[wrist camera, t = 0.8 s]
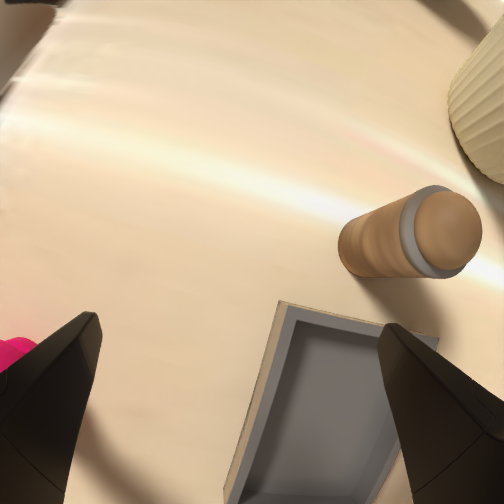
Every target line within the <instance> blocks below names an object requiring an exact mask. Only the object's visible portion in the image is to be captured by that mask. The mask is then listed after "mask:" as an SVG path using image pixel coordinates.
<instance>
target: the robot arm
mask: <svg viewBox="0 0 504 504" xmlns="http://www.w3.org/2000/svg"><path fill="white" fill-rule="evenodd" d="M101 343H102V330H101V326H100V322H99V318H98V315H97V314H96V313H95V312H87V311H85V312H82V313H81V314H80V315H78V316H77V317H75V318H74V319H73V320H71V321H70V322H68V323H67V324H66V325H64V326H63V327H61V328H60V329H59V330H57V331H56V332H54V333H53V334H52V335H50V336H49V337H48V338H46V339H45V340H43V341H42V342H41V343H39V344H38V345H37V346H35V347H34V348H33V349H31V350H30V351H29V352H27V353H26V354H25V355H23V356H22V357H21V358H19V359H18V360H17V361H15V362H14V363H13V364H11V365H10V366H9V367H8V369H5V370H3V371H2V372H1V373H0V504H63V502H64V497H65V491H66V486H67V481H68V476H69V471H70V467H71V463H72V458H73V454H74V450H75V446H76V442H77V438H78V434H79V430H80V426H81V423H82V419H83V415H84V412H85V408H86V405H87V402H88V398H89V395H90V391H91V388H92V385H93V381H94V377H95V372H96V367H97V362H98V357H99V352H100V347H101ZM377 352H378V357H379V362H380V367H381V373H382V378H383V383H384V388H385V391H386V395H387V398H388V402H389V405H390V409H391V412H392V416H393V419H394V423H395V426H396V430H397V434H398V438H399V441H400V445H401V449H402V453H403V457H404V461H405V466H406V470H407V474H408V478H409V483H410V487H411V492H412V494H413V495H412V497H413V502H414V504H504V401H502V400H501V399H499V398H498V397H496V396H495V395H493V394H492V393H490V392H489V391H488V390H486V389H485V388H484V387H482V386H481V385H480V384H478V383H477V382H476V381H474V380H472V379H471V378H470V377H469V376H468V375H466V374H465V373H464V372H462V371H461V370H460V369H459V368H457V367H456V366H455V365H453V364H452V363H451V362H449V361H448V360H447V359H445V358H444V357H443V356H441V355H440V354H438V353H437V352H436V351H434V350H433V349H432V348H430V347H429V346H428V345H426V344H425V343H424V342H422V341H421V340H420V339H418V338H417V337H415V336H414V335H413V334H411V333H410V332H409V331H407V330H406V329H405V328H403V327H402V326H400V325H399V324H397V323H387V324H385V325H384V327H383V330H382V332H381V334H380V337H379V339H378V341H377Z"/></svg>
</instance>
